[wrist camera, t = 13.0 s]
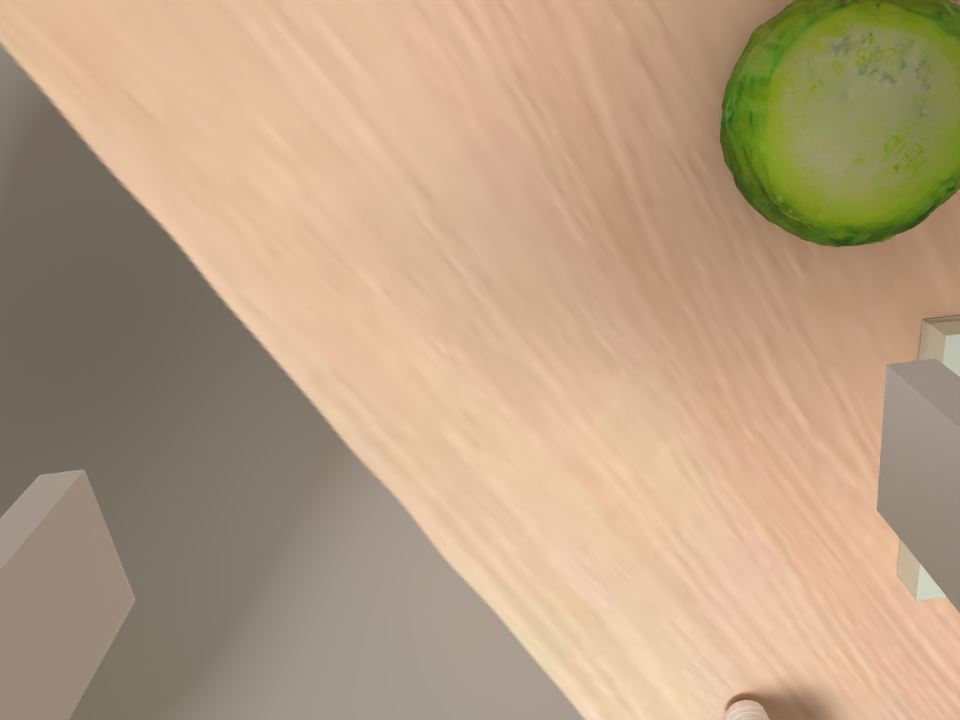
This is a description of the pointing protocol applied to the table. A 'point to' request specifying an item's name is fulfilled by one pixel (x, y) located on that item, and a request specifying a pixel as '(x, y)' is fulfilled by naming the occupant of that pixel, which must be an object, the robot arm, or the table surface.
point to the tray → (956, 348)
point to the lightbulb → (746, 711)
